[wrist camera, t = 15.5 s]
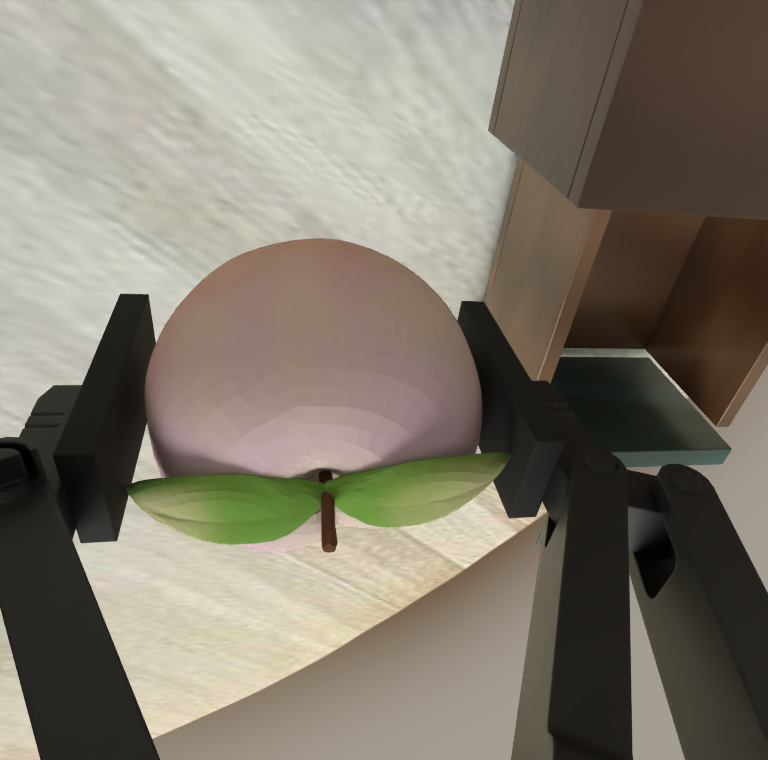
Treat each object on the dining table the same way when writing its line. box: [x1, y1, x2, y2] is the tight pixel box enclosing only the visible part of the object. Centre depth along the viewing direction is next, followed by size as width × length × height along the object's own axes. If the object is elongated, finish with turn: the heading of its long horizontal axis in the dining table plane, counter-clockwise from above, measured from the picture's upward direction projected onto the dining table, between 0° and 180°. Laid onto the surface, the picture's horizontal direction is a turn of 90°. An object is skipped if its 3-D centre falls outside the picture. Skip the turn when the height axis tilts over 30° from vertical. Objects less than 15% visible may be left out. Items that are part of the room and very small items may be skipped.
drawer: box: [484, 157, 768, 467], centre depth 31 cm, size 22×14×9 cm, turn 174°
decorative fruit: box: [125, 238, 511, 552], centre depth 16 cm, size 9×8×10 cm
